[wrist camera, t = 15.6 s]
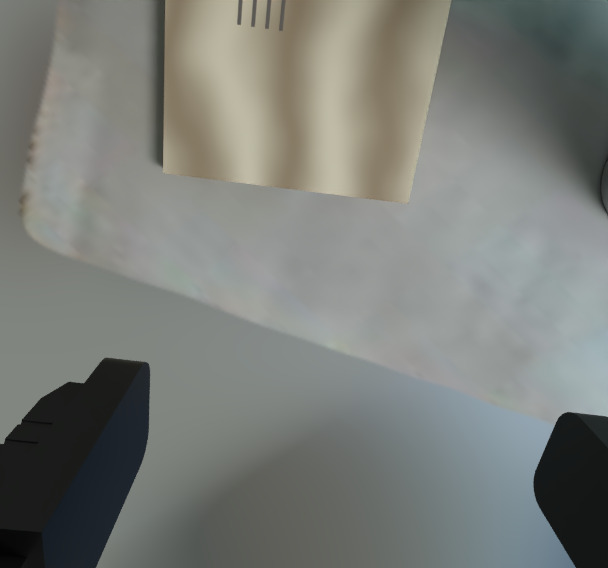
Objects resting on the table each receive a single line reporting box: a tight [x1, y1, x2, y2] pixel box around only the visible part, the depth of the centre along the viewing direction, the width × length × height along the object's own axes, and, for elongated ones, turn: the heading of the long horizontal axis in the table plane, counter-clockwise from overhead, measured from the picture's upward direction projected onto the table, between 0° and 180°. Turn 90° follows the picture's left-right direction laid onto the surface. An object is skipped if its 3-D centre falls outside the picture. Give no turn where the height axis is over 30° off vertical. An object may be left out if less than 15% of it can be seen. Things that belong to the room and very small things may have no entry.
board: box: [163, 0, 452, 204], centre depth 29 cm, size 18×23×1 cm
